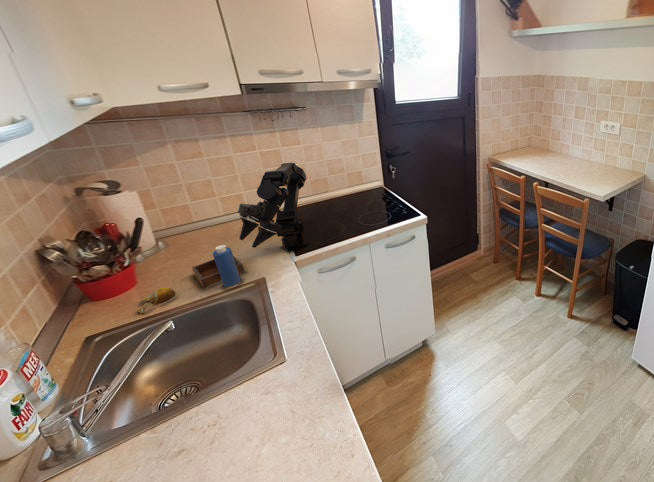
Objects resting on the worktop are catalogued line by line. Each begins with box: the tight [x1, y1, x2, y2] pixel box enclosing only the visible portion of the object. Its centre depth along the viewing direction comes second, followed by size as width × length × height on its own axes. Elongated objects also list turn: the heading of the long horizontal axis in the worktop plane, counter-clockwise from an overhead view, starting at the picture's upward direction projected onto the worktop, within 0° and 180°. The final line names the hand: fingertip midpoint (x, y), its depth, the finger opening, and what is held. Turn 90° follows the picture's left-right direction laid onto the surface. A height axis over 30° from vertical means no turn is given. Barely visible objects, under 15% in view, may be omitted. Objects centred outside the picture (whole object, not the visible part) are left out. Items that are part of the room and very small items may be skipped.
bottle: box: [212, 244, 242, 288], centre depth 108 cm, size 5×5×15 cm
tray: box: [191, 255, 245, 288], centre depth 115 cm, size 12×12×4 cm
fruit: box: [138, 287, 176, 314], centre depth 103 cm, size 8×8×4 cm
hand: (246, 243), depth 114 cm, fingers open, 9 cm apart
